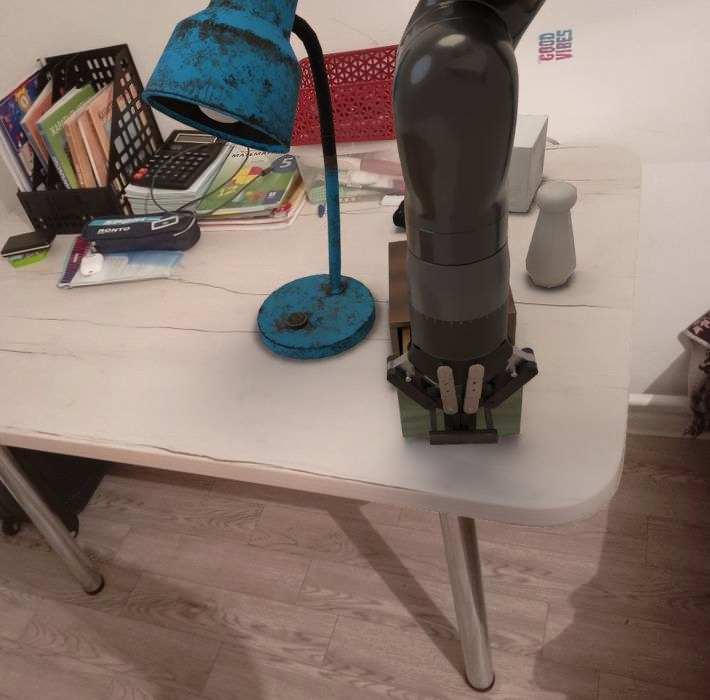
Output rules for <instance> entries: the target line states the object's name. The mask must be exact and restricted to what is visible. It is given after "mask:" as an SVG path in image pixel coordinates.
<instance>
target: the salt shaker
mask: <svg viewBox="0 0 710 700" xmlns="http://www.w3.org/2000/svg"><path fill="white" fill-rule="evenodd" d="M577 200H578V191H577V187H576V186H575V185H574V184H572V183H571V182H568V181H564V180H554V181H548V182H546V183H544V184H542V186H540V187H538V188H537V191H536V193H535V205H536V207H537V209H538V210H539V211H538V214H537V218H536V222H535V225H534V229H533V232H532V236H531V240H530V243H529V246H528V250H527V253H526V257H525V270H526V272H527V273H528V275H529V277H530V278H531V280H532V282H533V284H534V285H536V286H538V287H543V288H547V289H552V288H554V287H555V288H556V287H558V286H559V287H560V286H562V285H565V283H566V282H567V280H568V279H569V277H570V276H571V275H572V273H573V272H574V271H575V270H576V267H577V255H576V245H575V238H574V236H575V235H574V228H573V220H572V212H571V210H572V209H573V208H574V207H575V205H576V203H577Z"/></svg>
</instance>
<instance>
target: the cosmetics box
mask: <svg viewBox="0 0 710 700" xmlns="http://www.w3.org/2000/svg"><path fill="white" fill-rule="evenodd" d="M548 123H549V115H548V114H517V124H516V132H515V139H514V145H513V151H512V157H511V163H510V168H509V172H508V184H509V212H514V213H527V212H528V210H529V208H530V206H531V204H532V201H533V199H534V197H535V196H536V194H537V190H538V189H539V186H540V184H541V182H542V180H543V176H544V174H543V173H544V165H545V157H546V154H545V153H546V146H547V134H548V125H549V124H548Z"/></svg>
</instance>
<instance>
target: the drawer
mask: <svg viewBox="0 0 710 700" xmlns="http://www.w3.org/2000/svg"><path fill="white" fill-rule="evenodd" d="M402 335H403V354H404V353H406V352H407V345H408V343H409V341H410V340H411V337H412V335H411V326H410V327H402ZM415 370H417V371H418V372H419V373H421V374H422V375H423V376H424V377H426V378H427V379H428V380H430V379H429V378H428V377H427V376H425V375H424V374H423V373H422V372H421V371H419V370H418V369H417V368H416V367H415ZM430 381H431V380H430ZM431 382H432V383H433V384H435V386H436V387H437V388H440V385H439V384H437V383H435V382H433V381H431ZM482 383H483V382H482ZM455 387H456V396H457V397H458V399H459V396H461V393H462V391H461V390H462V385H456V386H455ZM396 393H397V401H398V409H399V411H398V412H399V418H400V426H401V428H400V429H401V435H402V438H425V437H426V438H428V442H429V443H428V444H429V446H430V447H433V446H434V447H435V446H437V447H439V446H477V445H478V446H479V445H481V446H482V445H484V446H485V445H498V444H499V435H500V436H501V435H502V436H503V435H507V436H508V435H520V434H521V425H522V424H521V423H522V409H523V408H522V407H523V395H524V394H523V393H524V386H522V387H521V388H520V389H519V390H518V391H516V392H515V393H514V394H513V395H511V396H510V397H509V398H508V399H506V400H505V401H504V402H503V403H501V404H500V405H499V406H498V407H496V408H493V409H490V408H487V407H486V406H483V407H480V408H479V409H478V410H477V412H476V429H471V430H445V426H444V412H443V410H441V409H439V408H436V409H434V410H426V409H424V408H423V407H422V406H420V405H419V404H418V403H416V402H415V401H414V400H412V399H411V398H410V397H408V396H407V395H406V394H404V393H403V392H402V391H400V390H399V389H398V388H396Z"/></svg>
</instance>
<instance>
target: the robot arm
mask: <svg viewBox="0 0 710 700" xmlns="http://www.w3.org/2000/svg"><path fill="white" fill-rule="evenodd" d="M546 2H547V0H418V2H417V3H416V6H415V7H414V10H413V12H412V14H411V16H410V19H409V20H408V23H407V24H406V27H405V29H404V31H403V33H402V36H401V38H400V41H399V44H398V47H397V51H396V55H395V62H394V71H393V79H392V91H391V99H392V100H391V101H392V114H393V116H392V117H393V124H394V125H393V126H394V134H395V140H396V141H395V142H396V147H397V153H398V158H399V163H400V168H401V173H402V179H403V183H404V193H403V200H404V212H405V223H406V228H405V235H406V240H407V259H406V283H407V288H408V300H409V312H410V323H411V335H412V337H411V340H410V341H409V343H408V345H407V352H406V353H404V354H403V355H401V356H400V357H398V356H397V355H393V354H391V355H389V356H387V357H386V381H387V382H388V383H389V384H391V385H392V386H393V387H395V388H396V389H397V388H398V389H399V390H400V391H402V392H403V393H404V394H406V395H407V396H408V397H410V398H411V399H412V400H414V401H415V402H416V403H418V404H419V405H420V406H422V407H423V408H424V409H426V410H434V409H436V408H439V409H441V410H443V412H444V426H445V430H471V429H476V412H477V410H478V409H479V408H480V407H483V406H486V407H487V408H490V409H493V408H496V407H498V406H499V405H500V404H501V403H503V402H504V401H505V400H506V399H508V398H509V397H510V396H511V395H513V394H514V393H515V392H516V391H518V390H519V389H520V388H521V387H522V386H523V387H524V386H525V385H527V383H528V382H530V381H531V380H532V379H534V378H536V376H538V374H539V367H538V362H537V358H536V355H535V351H534V349H533V348H531V347H522V348H517V347H516V346H515V347H514V346H512V345H511V344H512V340H511V338H510V336H509V335H508V334H507V328H508V306H509V283H510V281H511V278H510V277H511V253H510V248H509V233H508V232H509V214H510V213H509V212H510V211H509V184H508V172H509V168H510V163H511V157H512V151H513V145H514V139H515V132H516V124H517V115H519V114H518V113H519V97H520V94H519V93H520V76H519V66H518V61H517V57H516V54H515V51H516V50H517V47H518V45H519V44H520V41H522V38H523V36H524V35H525V33H526V32H527V30H528V29H529V27H530V25H532V23H533V21H534V20H535V18H536V17H537V15H538V14H539V12H540V11H541V9H542V8H543V6H544V5H545V4H546ZM510 284H511V283H510ZM415 367H416V368H417V369H418V370H419V371H421V372H422V373H423V374H424V375H425V376H427V377H428V378H429V379H430V380H431V381H433V382H435V383H437V384H439V385H440V388H437V387H436V386H435V384H433V383H432V382H431V381H430V380H428V379H427V378H426V377H424V376H423V375H422V374H421V373H419V372H418V371H417V370H415ZM482 382H483V383H482ZM456 385H462V390H461V391H462V393H461V396H459V399H458V397H457V396H456V387H455V386H456Z"/></svg>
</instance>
